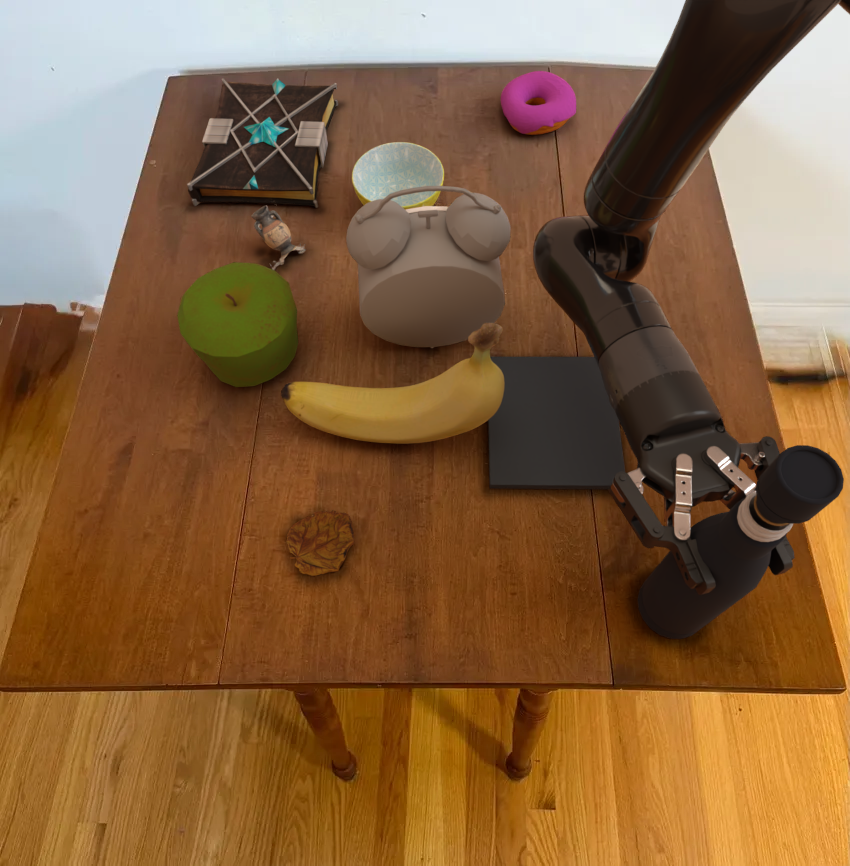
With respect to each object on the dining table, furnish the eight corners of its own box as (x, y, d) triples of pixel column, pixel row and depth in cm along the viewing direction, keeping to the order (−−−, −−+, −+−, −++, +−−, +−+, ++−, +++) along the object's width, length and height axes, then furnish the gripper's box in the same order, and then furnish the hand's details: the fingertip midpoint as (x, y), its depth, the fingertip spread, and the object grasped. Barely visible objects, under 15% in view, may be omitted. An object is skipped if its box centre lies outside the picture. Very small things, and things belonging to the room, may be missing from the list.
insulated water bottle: (692, 652, 66) (853, 544, 40) (627, 618, 68) (739, 494, 41) (715, 591, 69) (879, 452, 42) (651, 561, 70) (771, 409, 44)
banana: (286, 444, 78) (240, 334, 60) (297, 399, 80) (256, 280, 63) (495, 463, 76) (511, 355, 58) (498, 416, 79) (514, 299, 61)
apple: (272, 417, 79) (248, 359, 69) (180, 379, 82) (144, 318, 72) (326, 333, 85) (311, 268, 75) (238, 300, 87) (212, 233, 77)
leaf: (286, 519, 74) (281, 515, 72) (351, 505, 73) (347, 500, 72) (294, 581, 71) (289, 578, 70) (361, 566, 71) (357, 563, 69)
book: (227, 100, 105) (217, 68, 101) (340, 103, 104) (335, 71, 100) (192, 207, 95) (180, 177, 91) (318, 212, 94) (312, 182, 90)
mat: (609, 361, 82) (610, 356, 81) (624, 489, 74) (627, 485, 73) (486, 361, 82) (486, 356, 81) (489, 488, 75) (490, 484, 74)
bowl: (393, 257, 90) (390, 221, 85) (339, 207, 94) (333, 169, 89) (461, 214, 93) (463, 176, 88) (407, 167, 98) (404, 129, 92)
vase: (249, 246, 91) (237, 211, 86) (286, 227, 93) (276, 191, 88) (271, 272, 89) (260, 238, 84) (308, 252, 91) (299, 217, 86)
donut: (494, 97, 104) (496, 68, 100) (563, 89, 105) (567, 60, 101) (508, 145, 99) (511, 117, 95) (580, 137, 100) (586, 108, 96)
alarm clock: (496, 296, 87) (511, 146, 67) (505, 355, 82) (523, 213, 63) (360, 306, 86) (336, 158, 67) (363, 366, 82) (337, 226, 63)
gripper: (584, 388, 57) (669, 590, 49) (751, 349, 58) (860, 540, 50) (569, 433, 64) (643, 618, 56) (720, 397, 65) (812, 573, 57)
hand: (746, 580), depth 53 cm, fingers closed on insulated water bottle, 5 cm apart
